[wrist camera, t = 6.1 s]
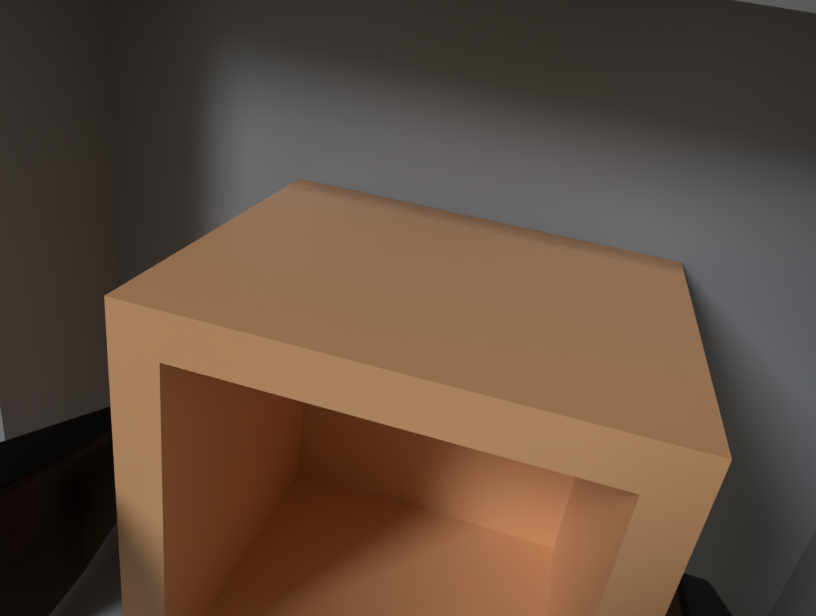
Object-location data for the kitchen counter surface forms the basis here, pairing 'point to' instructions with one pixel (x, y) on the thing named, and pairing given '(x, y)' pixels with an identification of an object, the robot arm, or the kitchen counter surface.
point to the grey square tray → (434, 189)
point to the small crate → (406, 418)
